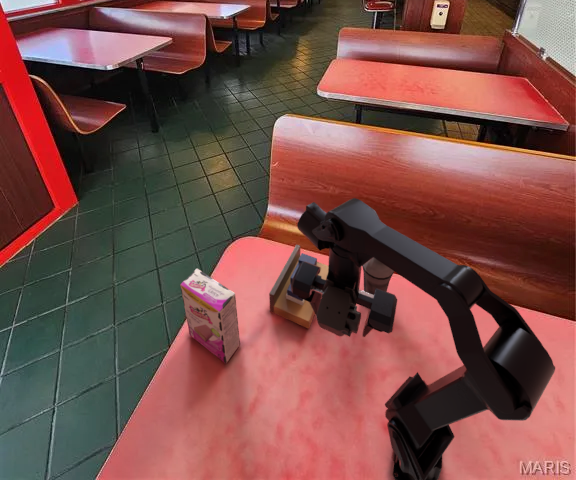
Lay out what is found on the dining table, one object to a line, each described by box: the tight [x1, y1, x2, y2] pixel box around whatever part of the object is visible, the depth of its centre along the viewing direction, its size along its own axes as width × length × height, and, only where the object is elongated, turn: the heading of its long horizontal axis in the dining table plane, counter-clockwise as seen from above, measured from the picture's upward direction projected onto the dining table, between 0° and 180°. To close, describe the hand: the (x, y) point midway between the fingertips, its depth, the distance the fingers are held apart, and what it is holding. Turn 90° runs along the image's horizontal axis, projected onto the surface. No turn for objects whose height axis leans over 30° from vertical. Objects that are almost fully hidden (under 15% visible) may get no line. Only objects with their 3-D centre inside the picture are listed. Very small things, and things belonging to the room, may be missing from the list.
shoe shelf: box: [268, 244, 329, 330], centre depth 82 cm, size 10×16×6 cm, turn 155°
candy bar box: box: [179, 268, 241, 365], centre depth 69 cm, size 11×5×16 cm, turn 58°
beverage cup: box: [361, 258, 395, 295], centre depth 77 cm, size 7×7×20 cm
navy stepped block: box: [286, 252, 318, 305], centre depth 81 cm, size 10×4×5 cm, turn 155°
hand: (340, 324), depth 64 cm, fingers open, 9 cm apart
